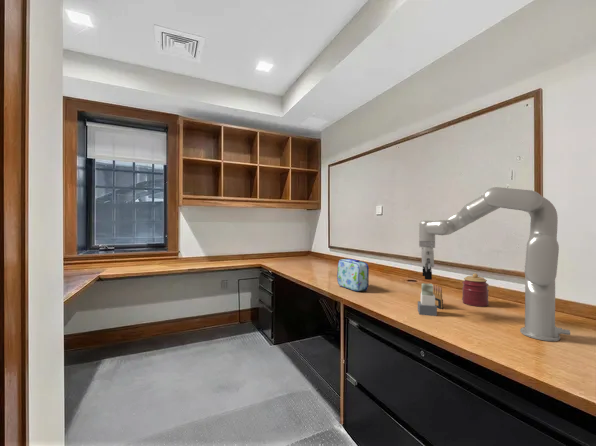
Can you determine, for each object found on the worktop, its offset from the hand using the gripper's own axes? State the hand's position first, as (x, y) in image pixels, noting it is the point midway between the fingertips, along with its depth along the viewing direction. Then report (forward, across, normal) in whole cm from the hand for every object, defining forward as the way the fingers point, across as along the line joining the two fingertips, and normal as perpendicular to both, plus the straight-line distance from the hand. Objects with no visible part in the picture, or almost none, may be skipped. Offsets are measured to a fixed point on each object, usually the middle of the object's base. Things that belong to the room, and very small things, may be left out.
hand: (427, 277), depth 146 cm
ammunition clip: (+19, +15, -6) cm, 25 cm away
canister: (+19, +28, -29) cm, 44 cm away
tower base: (+19, 0, 0) cm, 19 cm away
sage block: (+9, 0, 0) cm, 9 cm away
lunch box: (+18, +43, +43) cm, 64 cm away
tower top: (+14, 0, 0) cm, 14 cm away
